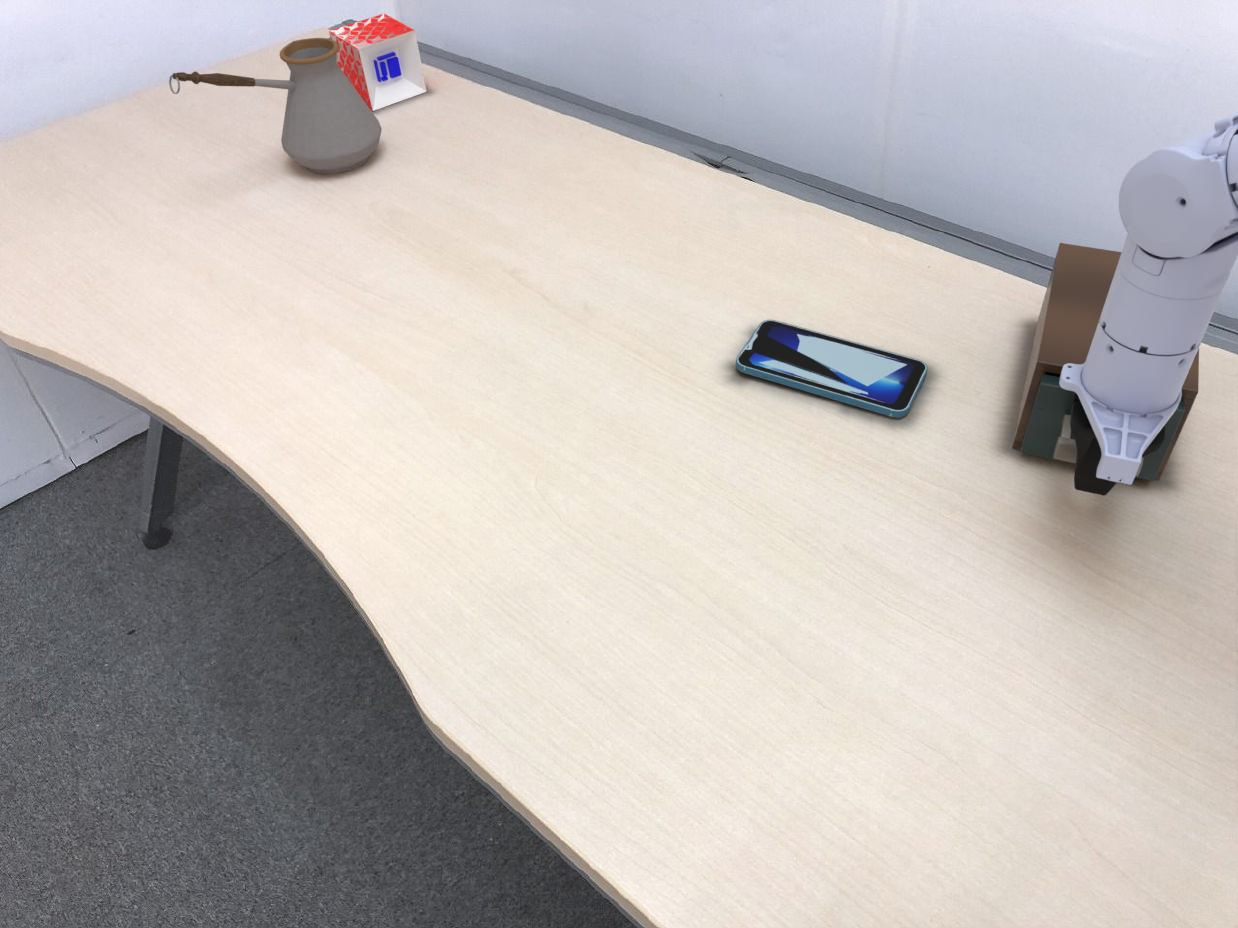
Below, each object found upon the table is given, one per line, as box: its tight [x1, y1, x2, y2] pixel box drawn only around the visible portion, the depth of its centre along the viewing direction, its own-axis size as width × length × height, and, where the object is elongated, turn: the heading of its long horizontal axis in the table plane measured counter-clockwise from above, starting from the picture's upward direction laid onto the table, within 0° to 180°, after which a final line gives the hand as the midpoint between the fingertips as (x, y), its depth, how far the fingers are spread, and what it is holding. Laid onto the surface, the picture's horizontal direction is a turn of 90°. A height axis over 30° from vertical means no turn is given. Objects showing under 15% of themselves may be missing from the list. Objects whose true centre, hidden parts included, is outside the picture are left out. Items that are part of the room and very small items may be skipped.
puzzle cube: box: [328, 13, 428, 112], centre depth 131 cm, size 8×8×8 cm
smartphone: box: [735, 319, 929, 418], centre depth 87 cm, size 7×1×15 cm
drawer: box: [1019, 372, 1185, 482], centre depth 78 cm, size 20×9×7 cm, turn 158°
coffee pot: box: [168, 37, 383, 175], centre depth 113 cm, size 21×12×15 cm, turn 131°
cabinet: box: [1011, 242, 1200, 480], centre depth 81 cm, size 17×11×9 cm, turn 158°
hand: (1090, 486), depth 71 cm, fingers closed
